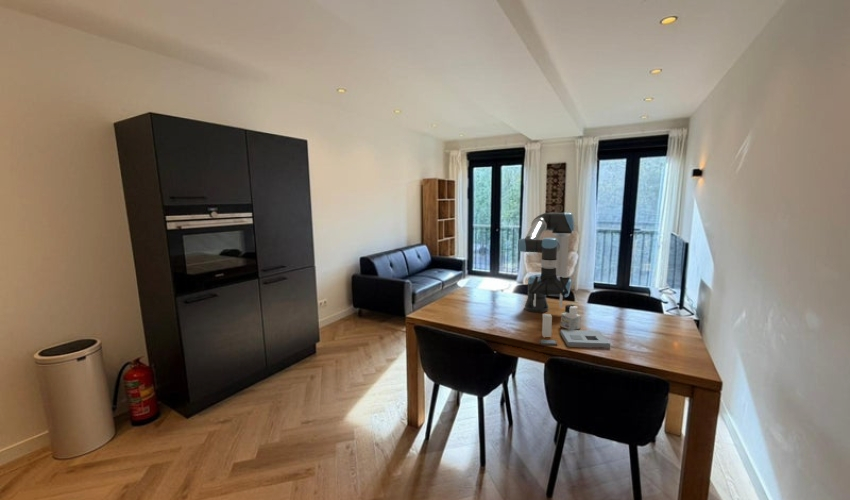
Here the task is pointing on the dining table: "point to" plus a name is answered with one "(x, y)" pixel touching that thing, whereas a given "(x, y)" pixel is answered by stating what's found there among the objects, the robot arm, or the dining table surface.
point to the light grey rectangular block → (546, 325)
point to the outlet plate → (584, 338)
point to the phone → (548, 342)
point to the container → (571, 318)
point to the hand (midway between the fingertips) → (547, 306)
